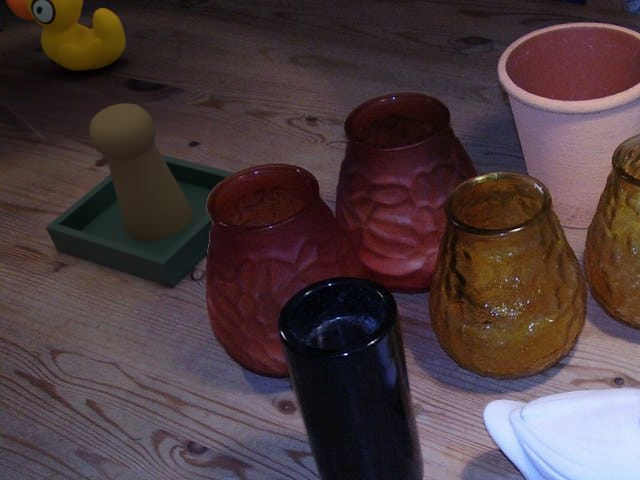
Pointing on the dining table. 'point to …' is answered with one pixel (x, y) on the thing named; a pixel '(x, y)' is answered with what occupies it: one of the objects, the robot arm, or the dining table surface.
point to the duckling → (74, 33)
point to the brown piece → (139, 173)
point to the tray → (130, 254)
